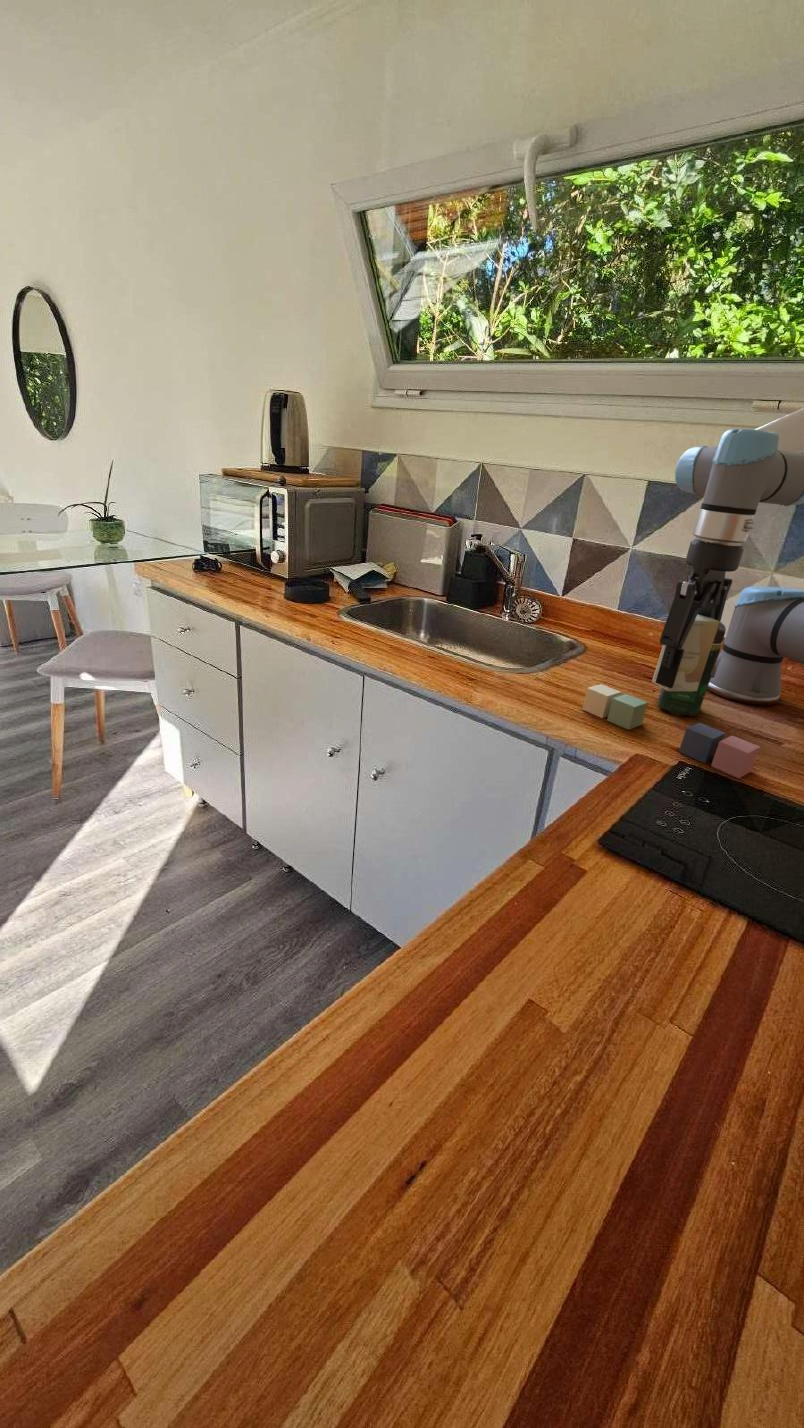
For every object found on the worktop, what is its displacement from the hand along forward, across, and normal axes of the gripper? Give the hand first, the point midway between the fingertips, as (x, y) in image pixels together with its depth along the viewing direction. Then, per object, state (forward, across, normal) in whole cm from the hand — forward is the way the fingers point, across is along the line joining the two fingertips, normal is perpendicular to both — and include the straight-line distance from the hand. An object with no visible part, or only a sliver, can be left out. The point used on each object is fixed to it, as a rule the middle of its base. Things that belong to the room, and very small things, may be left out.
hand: (676, 681), depth 100 cm
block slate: (+11, 0, -7) cm, 13 cm away
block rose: (+11, 0, -12) cm, 16 cm away
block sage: (+11, 0, +7) cm, 13 cm away
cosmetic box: (+1, 0, 0) cm, 1 cm away
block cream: (+11, 0, +12) cm, 16 cm away
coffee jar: (+11, +17, +6) cm, 21 cm away
